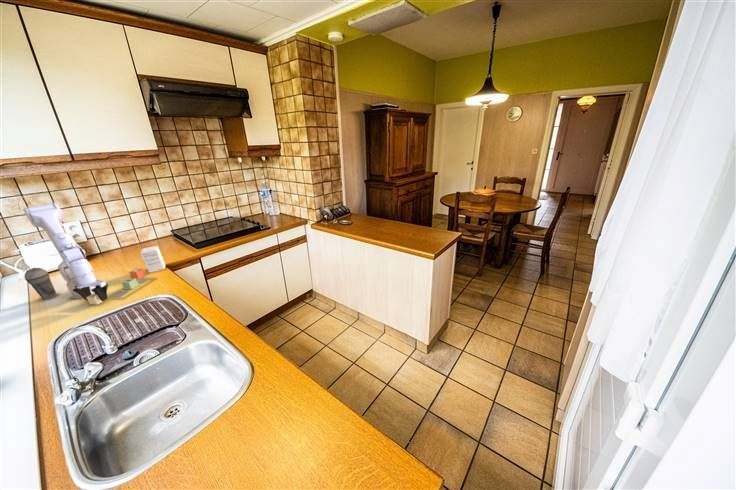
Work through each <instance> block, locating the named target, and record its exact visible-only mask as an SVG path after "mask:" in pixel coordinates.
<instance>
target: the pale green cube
mask: <svg viewBox="0 0 736 490" xmlns="http://www.w3.org/2000/svg"><path fill="white" fill-rule="evenodd" d="M137 281H138V280H137V278H132V277H129V278H127V279H125V280H123V281H122V282H120V283H121V285H122V288H123V290H124V289H125V290H124V291H133V290H134V289H133V288H135V287H136V288H138V287H139V286H138V285H140V284H138V282H137ZM137 286H138V287H137ZM136 288H135V289H136ZM132 289H133V290H132Z"/></svg>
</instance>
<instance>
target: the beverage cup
mask: <svg viewBox="0 0 736 490" xmlns="http://www.w3.org/2000/svg"><path fill="white" fill-rule="evenodd" d="M22 263H23V264H24V265H25V266H26V268H27V269H28V270H26V272H25V273H24V279H25V281H26V282H27V283H28V284H29V285H30V286H31V287H32V288H33V290H35V291H36V293H37V294H38V296H39V297H40V298H41V299H43V301H46V300H47V301H48V300H52V299H53V298H55V297H57V296H58V295H57V292H56V289H55V287H54V285H53V282H52V281H51V278H50V274H49V272H48V271H47V270H46V269H44V268H41V267H33V268H31V267H30V266H29V265H28V264H27V263H26V261H25V260H22Z"/></svg>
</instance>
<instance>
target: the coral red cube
mask: <svg viewBox="0 0 736 490" xmlns="http://www.w3.org/2000/svg"><path fill="white" fill-rule="evenodd" d="M128 273H129V275H130V278H136V279H141V278H142V277H144V276H145V275H146V274H145V271H144V269H143V268H135V269H133V270H131V271H129V272H128Z"/></svg>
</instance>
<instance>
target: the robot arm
mask: <svg viewBox="0 0 736 490" xmlns="http://www.w3.org/2000/svg"><path fill="white" fill-rule="evenodd" d="M22 211H23V212H24V214H25V216H26V217H27V219H28V221H29V222H30V223H31V225H32V226H33V227H34V228H41V229H42V230H43V231H45V232H46V234H47V235H48V236H47V237H48V238H49V240H50V241H51V243H52V244H53V246H54V248H55V249H56V251H57V253H58V254H59V256H60V258H61V259H62V262H60V263H59V265H58V266H57V269H58V271H59V273H60V275H61V277H62V278H63V280H64V281H65V282H66V287H67V289H68V291H69V293H70V294H71V296H70V299H84V300H85V301H86V302H88V300H87V298H86V297H88V296H90V295H92V294H94V293H95V294H96V295H97V296H98V297H99V299H100V300H101V301H102V302H104V301H106V300H108V287H109V285H108V283H106V281H105V280H100V279H97V278H96V276H95V274H94V272H95V269H94V268H93V266H92V264H91V263H90V262H89V261H88V259H87V255H86V253H85V251H84V249H83V248H82V247H81V246H80V245H79V243H76V240H75V239H74V238H73V237H72V235H71V234H70V233H66V232H65V231H64V229H63V227H62V225H61V223H63V222H64V216H63V215H64V214H63V212H62V210H61V208H60V206H59V205H58V203H56V202H52V203H47V204H41V205H33V206H27V207H26V206H25V207H23V209H22Z"/></svg>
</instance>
